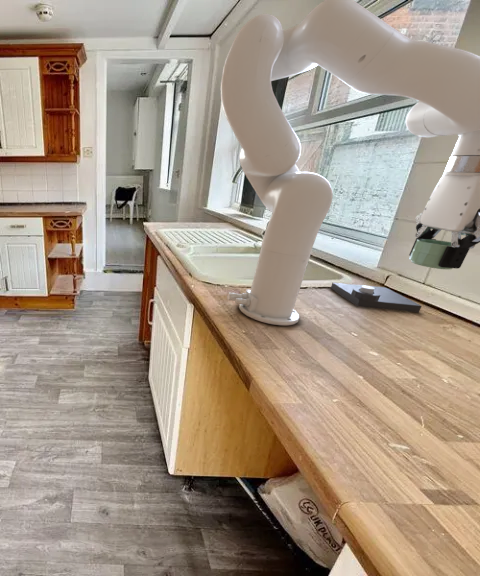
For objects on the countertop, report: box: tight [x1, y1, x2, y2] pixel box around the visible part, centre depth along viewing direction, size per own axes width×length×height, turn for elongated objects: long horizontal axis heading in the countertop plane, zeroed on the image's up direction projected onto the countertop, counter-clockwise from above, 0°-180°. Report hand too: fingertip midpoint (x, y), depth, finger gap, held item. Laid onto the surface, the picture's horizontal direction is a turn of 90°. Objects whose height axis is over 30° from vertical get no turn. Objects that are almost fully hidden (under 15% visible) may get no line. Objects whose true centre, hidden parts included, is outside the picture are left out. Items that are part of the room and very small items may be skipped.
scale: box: [330, 282, 422, 313], centre depth 83 cm, size 14×13×4 cm
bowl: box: [408, 239, 453, 270], centre depth 61 cm, size 7×7×5 cm
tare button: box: [360, 285, 375, 294], centre depth 79 cm, size 3×3×2 cm
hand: (432, 261), depth 62 cm, fingers closed on bowl, 6 cm apart
